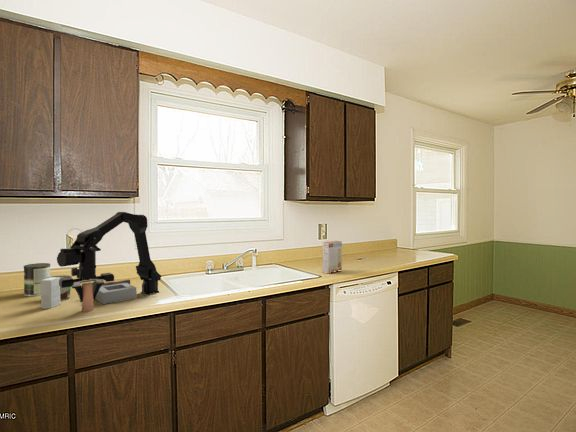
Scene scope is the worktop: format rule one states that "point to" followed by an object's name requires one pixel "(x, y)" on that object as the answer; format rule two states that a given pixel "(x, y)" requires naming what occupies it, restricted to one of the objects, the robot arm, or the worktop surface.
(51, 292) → the skincare box
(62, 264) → the robot arm
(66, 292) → the food container
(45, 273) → the coffee can
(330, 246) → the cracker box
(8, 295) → the worktop surface
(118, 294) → the socket block
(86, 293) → the dowel
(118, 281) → the walnut wall
